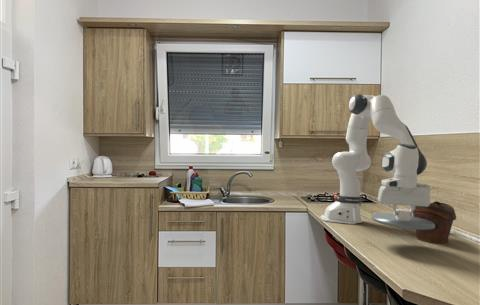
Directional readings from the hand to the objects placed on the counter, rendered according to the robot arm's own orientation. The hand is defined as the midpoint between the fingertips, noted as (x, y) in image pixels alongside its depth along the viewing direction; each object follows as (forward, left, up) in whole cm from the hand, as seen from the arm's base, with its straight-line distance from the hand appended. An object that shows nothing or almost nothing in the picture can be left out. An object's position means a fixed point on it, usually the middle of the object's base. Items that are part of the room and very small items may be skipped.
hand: (402, 215), depth 139 cm
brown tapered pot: (+21, +17, -14) cm, 30 cm away
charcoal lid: (0, 0, -3) cm, 3 cm away
